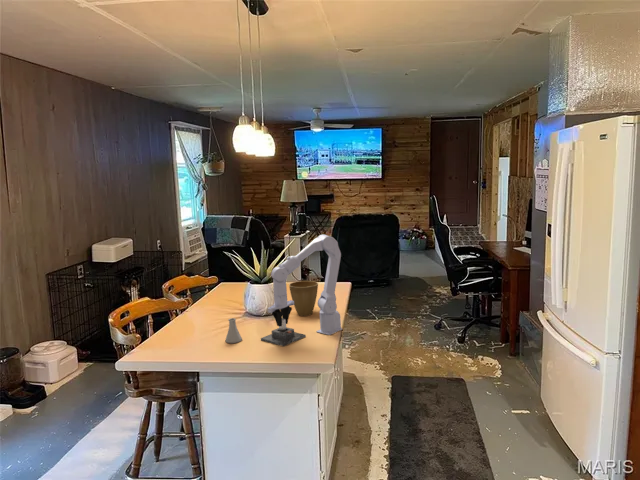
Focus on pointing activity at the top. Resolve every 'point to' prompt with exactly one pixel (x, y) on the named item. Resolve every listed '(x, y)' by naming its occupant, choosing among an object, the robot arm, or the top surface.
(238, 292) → the top surface
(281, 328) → the steel column
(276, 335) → the charcoal stand
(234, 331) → the flask
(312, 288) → the plant pot
